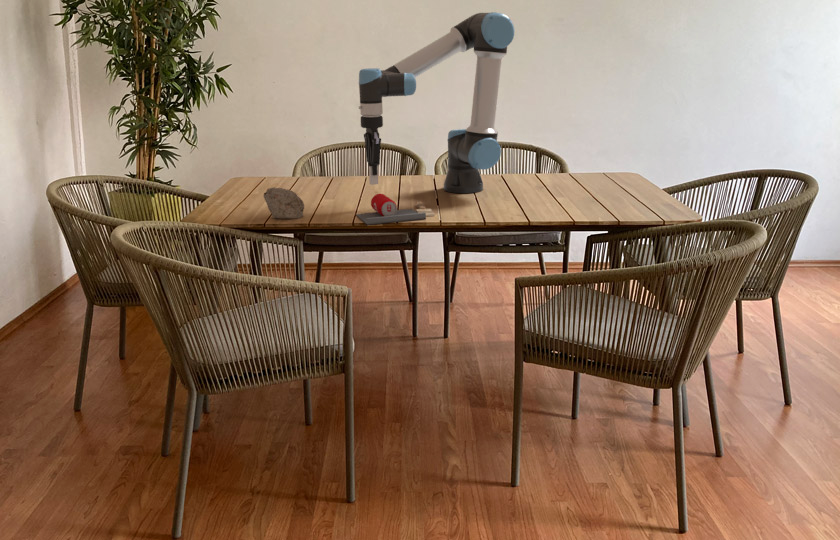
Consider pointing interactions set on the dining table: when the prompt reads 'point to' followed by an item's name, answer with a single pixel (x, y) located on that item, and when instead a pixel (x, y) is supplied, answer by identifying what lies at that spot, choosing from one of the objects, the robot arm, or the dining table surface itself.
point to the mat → (391, 217)
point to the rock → (283, 203)
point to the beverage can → (383, 205)
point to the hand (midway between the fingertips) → (374, 183)
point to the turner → (424, 209)
